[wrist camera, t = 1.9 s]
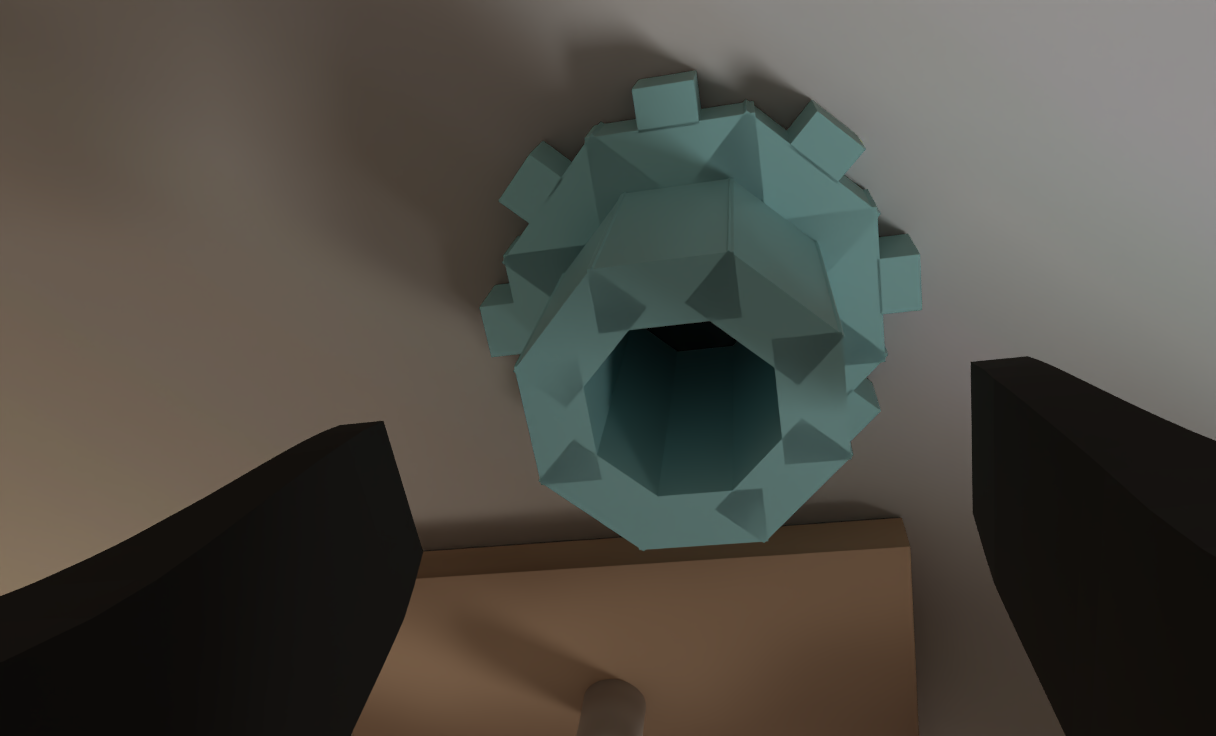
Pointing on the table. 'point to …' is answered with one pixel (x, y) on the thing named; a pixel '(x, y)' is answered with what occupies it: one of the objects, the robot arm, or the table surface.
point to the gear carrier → (658, 639)
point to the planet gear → (697, 314)
